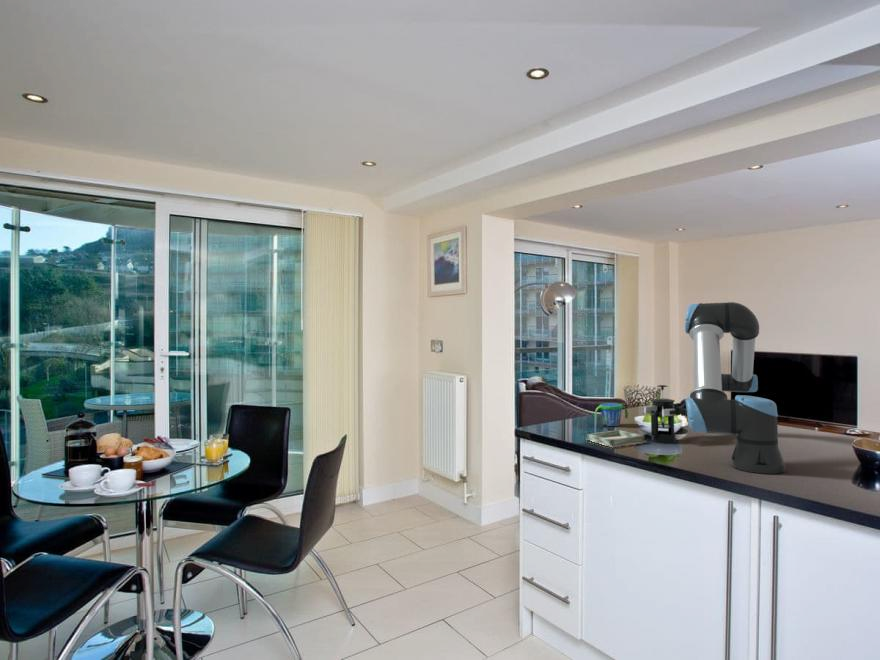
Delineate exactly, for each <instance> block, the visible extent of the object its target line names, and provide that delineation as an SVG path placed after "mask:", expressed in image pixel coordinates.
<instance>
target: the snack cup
mask: <svg viewBox="0 0 880 660" xmlns="http://www.w3.org/2000/svg"><path fill="white" fill-rule="evenodd" d="M623 408H624V414H625V415H624V416H625V417H624V418H625V419H628V416H629V412H628V409H627V407H626V406H624V405H623V404H621V403H614V402H612V403H611V402H610V403H609V402H608V403H600V404H599V405H598V406H597V407H596V408H595V411H594V418H595V420H598V414H597V413H598V410H599V411H600V412H601V413H600V414H601V418H602V423H603V426H604V425H607V426H606V427H608V426H616V427H619V426H620V425H621V417H622V412H623Z"/></svg>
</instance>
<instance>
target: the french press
mask: <svg viewBox="0 0 880 660" xmlns="http://www.w3.org/2000/svg"><path fill="white" fill-rule="evenodd" d="M656 387H658V388H661V389H660V391H661V398H651V399H650V401H651V402H652V403H651V406H652V405H653V406H660V407H662V410H663V407H671V406H674V405H673V404H674V403H675V399H671V398H664V388H666V387H668V385H664V384H658V385H657V386H656ZM662 410H656V412H654V411H651V413H650V428H651V431H650V432H651V433H650V434H651V442H654V443H660V444H674V443H676V442H677V439H676V432H675V416H676V414H675V415H673V416H665V417H663V416H662ZM659 417H661V418H662V423H659ZM665 418H667V423H665V421H664V419H665ZM659 429H662V430H659ZM663 429H664V430H663ZM665 429H668V430H665Z"/></svg>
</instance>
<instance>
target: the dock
mask: <svg viewBox="0 0 880 660" xmlns="http://www.w3.org/2000/svg"><path fill="white" fill-rule="evenodd" d="M585 439H586V440H590V441H592V442H595V443H599V444H602V445H605V446H609V447H612V448H613V447H619V448H622V447H621V446H626V447H630V446H629V445H633V446H637V445H636V444H639V445H644V444H643V443H646V444H647V440H645V435H643V434H638V433H634V432H629V431H625V430H620V429H615V430H609V431H608V430H607V431H600V432H593V433H586V438H584V440H585ZM605 446H604V447H605ZM609 447H608V448H609ZM612 448H611V449H612ZM613 449H614V448H613Z"/></svg>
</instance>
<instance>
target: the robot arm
mask: <svg viewBox="0 0 880 660" xmlns="http://www.w3.org/2000/svg"><path fill="white" fill-rule="evenodd" d="M684 326H685V327H684V332H685V334H687V335H689V337H690V339H691V340H693V361H694V363H693V367H694V369H693V370H694V375H693V376H694V390H692V391H691V392H690V395H689V397H687V398H683V399H682V400H681V401H680V402H676V403H673V405H674V406H671V407H663V410H662V407H660V406H653V405H652V404H651V405H649V406H644V407H643V408H644V414H651V411H654V412H656V410H662V416H663V417H664V418H666V417H665V416H673V415H675V416H681V417H682V416H683V417H687V422H688V426H689V429H690V430H691V431H693V432H694V433H703V434H715V435H716V434H719V435H733V436H734V435H736V436H735V437H736V444H735V447H734V449H733V452H732V456H731V457H730V458H731V459H730V462H731V463H730V465H731V467H733V468H734V469H736V468H737V470H741V471H743V472H748V473H754V472H755V473H756V474H769V475H770V474H771V475H773V474H781V473H784V472H786V463H785V461H784V458H783V455H782V452H781V450H780V447H779V429H778V428H779V427H778V417H779V414H778V407H777V406H778V405H777V404H776V402H775V401H773V400H771V399H768V398H765V397H764V398H763V397H759V396H752V395H747V394H746V395H745V394H744V395H742V394H741V395H740V394H737V395H735V397H734V399H729V398H728V395H727V393H726V392H729V393H730V392H733V393H734V392H735V393H755V392H757V391H758V390H759V381H758V375H757V374H754V363H755V362H754V360H755V349H756V338H757V337H758V336H759V335H760V323H759V320H758V318H757V316H756V315H755V313H754V312H753V311H752V310H751V309H750V308H748V307H747V306H745V305H743V304H741V303H740V302H739V303H738V302H733V301H729V302H709V303H708V302H707V303H702V302H699V303H692V304H689V306H688V307H687V308H686V315H685V323H684ZM724 334H730V336H731V337H732V358H731V359H732V360H731V361H732V363H731V373H722V364H721V346H720V345H721V344H720V343H721V342H720V340H721V339H722V338H723V337H724ZM663 417H662V418H663Z"/></svg>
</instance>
